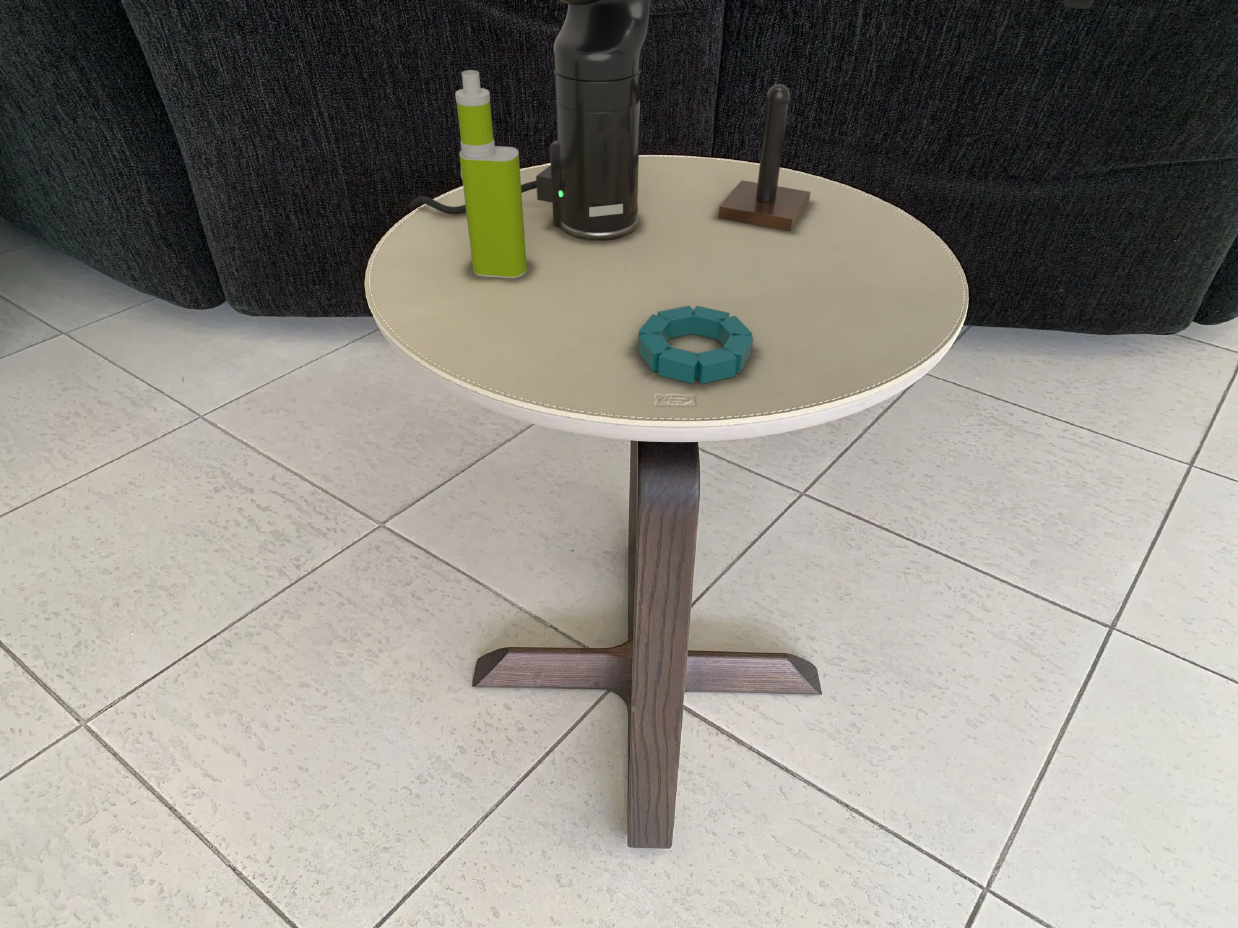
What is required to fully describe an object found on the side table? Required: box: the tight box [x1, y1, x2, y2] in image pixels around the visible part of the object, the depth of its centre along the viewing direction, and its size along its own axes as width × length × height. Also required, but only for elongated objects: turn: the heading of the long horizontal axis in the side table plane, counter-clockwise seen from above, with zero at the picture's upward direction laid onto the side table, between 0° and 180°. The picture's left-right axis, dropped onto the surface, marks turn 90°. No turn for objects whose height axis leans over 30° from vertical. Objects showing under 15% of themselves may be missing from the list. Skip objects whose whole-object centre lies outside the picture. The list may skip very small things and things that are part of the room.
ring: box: [637, 305, 754, 385], centre depth 77 cm, size 10×10×2 cm
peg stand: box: [717, 83, 811, 232], centre depth 98 cm, size 9×9×15 cm
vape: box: [454, 69, 528, 279], centre depth 84 cm, size 4×6×20 cm, turn 82°
